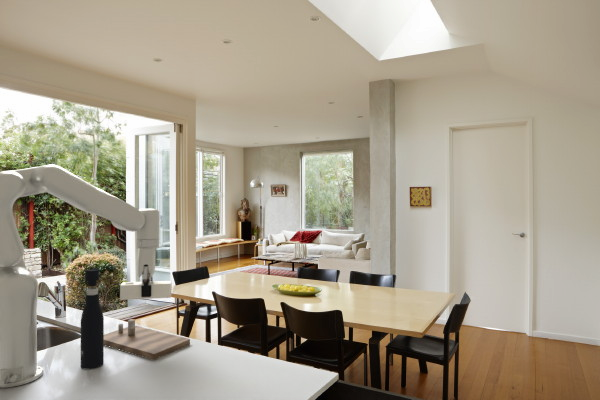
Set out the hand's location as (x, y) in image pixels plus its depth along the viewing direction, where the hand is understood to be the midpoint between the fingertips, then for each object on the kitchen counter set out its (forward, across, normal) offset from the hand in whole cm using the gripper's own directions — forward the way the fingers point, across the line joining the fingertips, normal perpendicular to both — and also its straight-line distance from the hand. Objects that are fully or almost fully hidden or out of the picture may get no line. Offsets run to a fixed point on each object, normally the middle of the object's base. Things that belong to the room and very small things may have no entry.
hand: (147, 294), depth 147 cm
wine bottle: (+19, +14, -15) cm, 27 cm away
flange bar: (+1, 0, 0) cm, 1 cm away
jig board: (+18, -2, -2) cm, 18 cm away
